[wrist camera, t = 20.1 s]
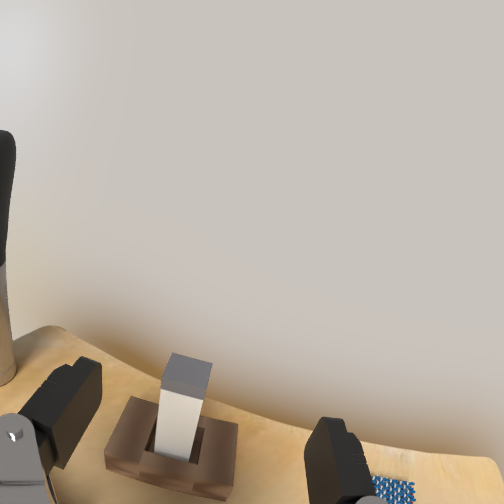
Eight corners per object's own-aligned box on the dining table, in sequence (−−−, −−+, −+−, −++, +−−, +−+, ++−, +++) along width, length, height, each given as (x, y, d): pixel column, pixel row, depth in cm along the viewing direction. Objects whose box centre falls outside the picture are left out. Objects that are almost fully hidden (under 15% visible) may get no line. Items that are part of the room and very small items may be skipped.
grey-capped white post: (152, 460, 30) (161, 376, 26) (160, 437, 34) (172, 352, 30) (186, 470, 30) (206, 388, 27) (192, 445, 34) (212, 363, 30)
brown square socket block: (106, 469, 27) (104, 450, 26) (130, 415, 37) (131, 395, 36) (225, 501, 28) (232, 485, 27) (231, 442, 38) (238, 424, 37)
